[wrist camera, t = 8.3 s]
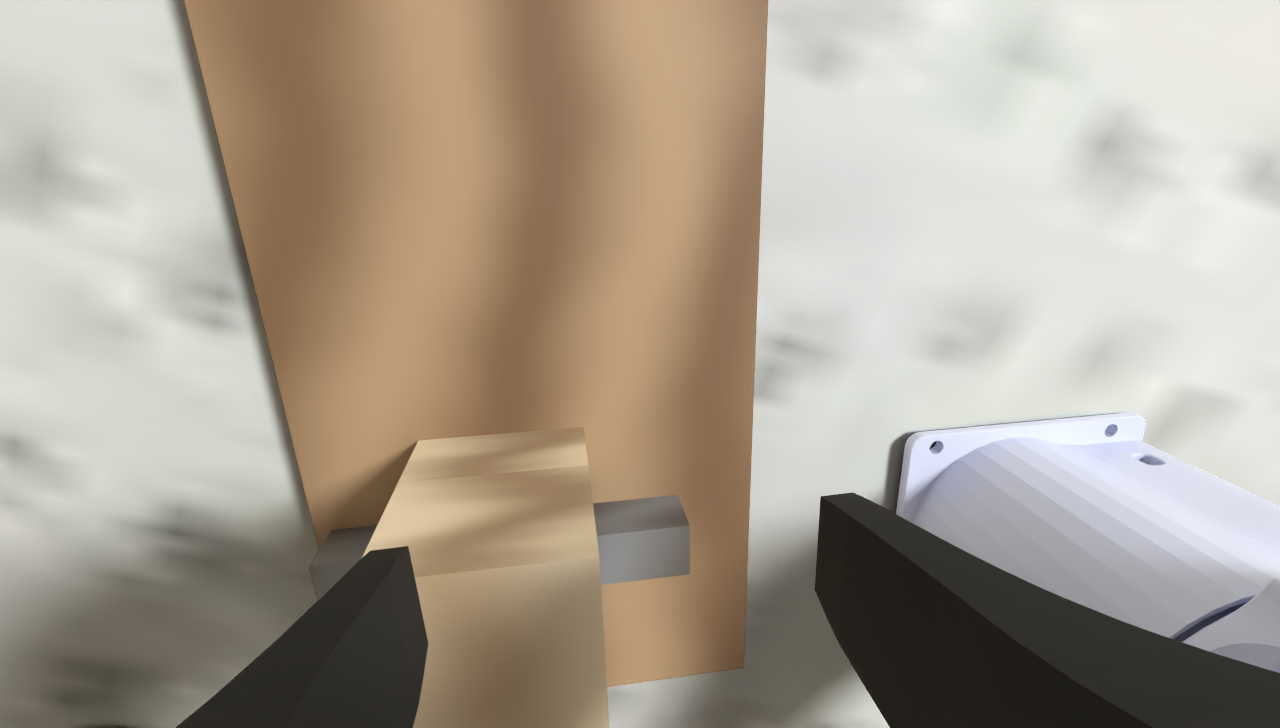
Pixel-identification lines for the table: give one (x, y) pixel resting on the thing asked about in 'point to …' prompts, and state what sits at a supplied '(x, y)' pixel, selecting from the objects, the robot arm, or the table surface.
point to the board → (514, 266)
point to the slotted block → (504, 579)
